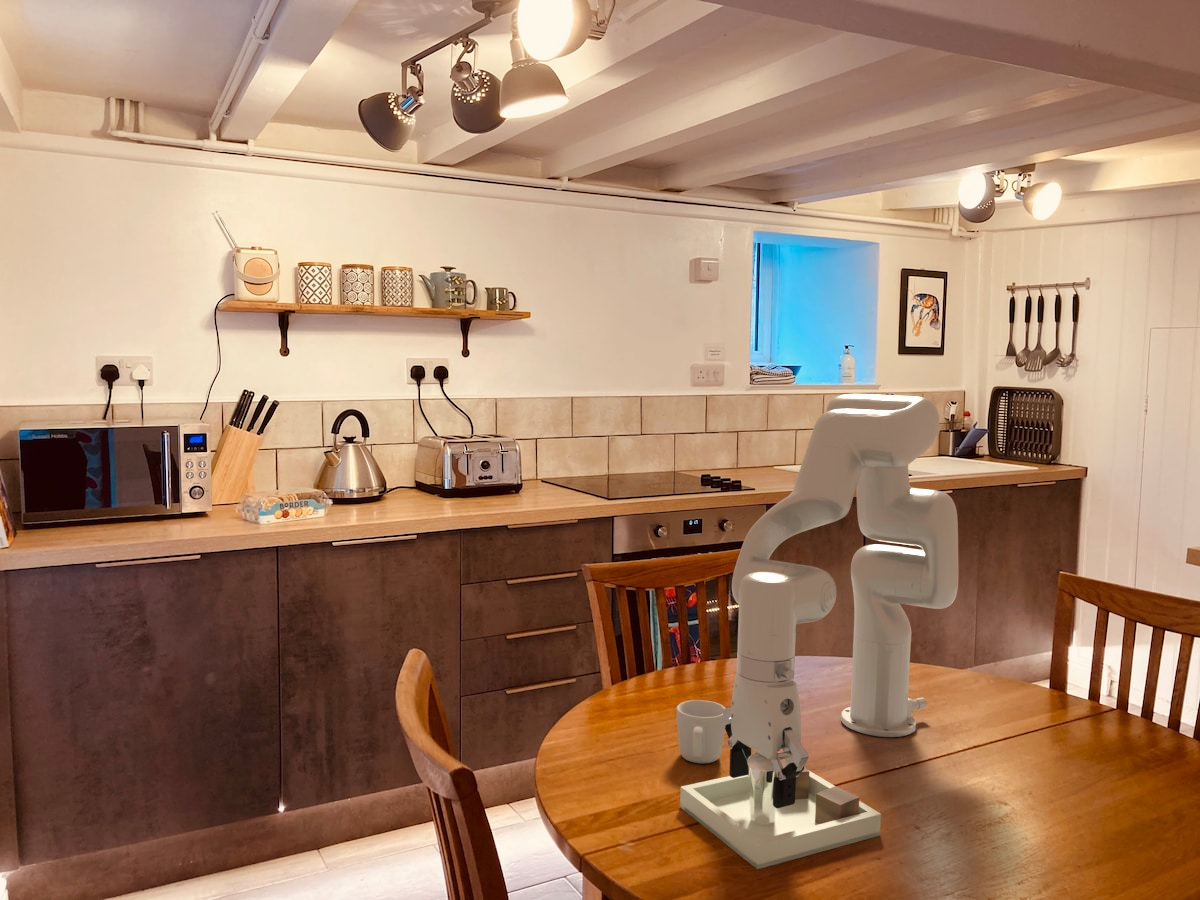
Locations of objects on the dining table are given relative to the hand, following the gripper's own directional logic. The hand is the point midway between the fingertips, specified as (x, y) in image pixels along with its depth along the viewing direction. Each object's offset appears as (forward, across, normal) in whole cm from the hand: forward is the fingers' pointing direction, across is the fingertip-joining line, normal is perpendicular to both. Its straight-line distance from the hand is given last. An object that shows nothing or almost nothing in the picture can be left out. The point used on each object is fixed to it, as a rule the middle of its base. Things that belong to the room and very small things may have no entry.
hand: (761, 790), depth 127 cm
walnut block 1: (+4, +5, -9) cm, 11 cm away
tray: (+5, 0, -3) cm, 6 cm away
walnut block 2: (+4, -5, -9) cm, 11 cm away
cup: (+5, +21, -4) cm, 22 cm away
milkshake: (+4, 0, 0) cm, 5 cm away
